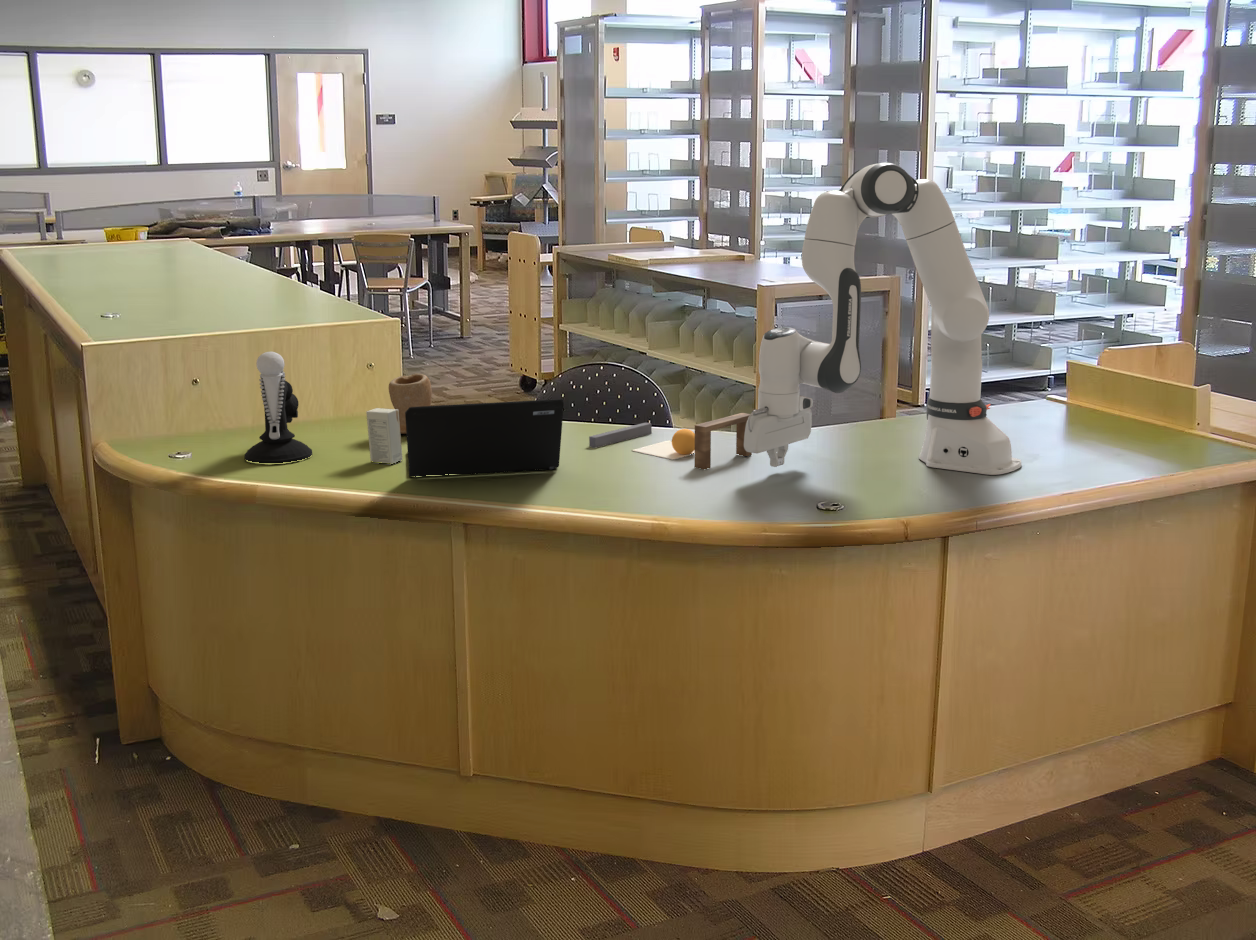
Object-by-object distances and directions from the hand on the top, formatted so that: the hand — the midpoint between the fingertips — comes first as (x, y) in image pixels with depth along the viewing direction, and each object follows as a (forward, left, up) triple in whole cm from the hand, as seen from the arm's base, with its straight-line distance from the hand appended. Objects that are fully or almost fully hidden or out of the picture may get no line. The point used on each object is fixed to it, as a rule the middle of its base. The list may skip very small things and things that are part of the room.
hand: (777, 465), depth 277 cm
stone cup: (+90, +28, -2) cm, 94 cm away
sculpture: (+99, +62, -2) cm, 117 cm away
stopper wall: (+47, 0, -2) cm, 47 cm away
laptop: (+52, +40, -2) cm, 66 cm away
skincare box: (+73, +51, -2) cm, 89 cm away
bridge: (+15, 0, -2) cm, 15 cm away
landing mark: (+31, 0, -2) cm, 31 cm away
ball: (+26, +1, +1) cm, 26 cm away
